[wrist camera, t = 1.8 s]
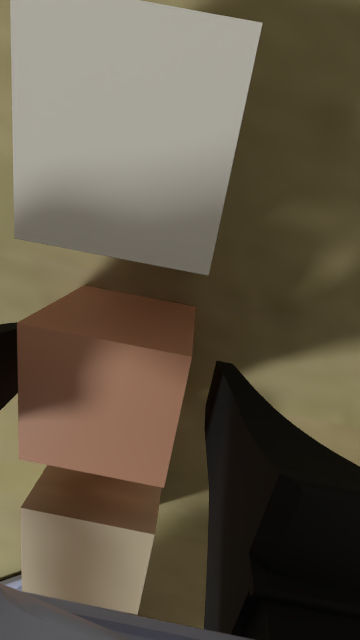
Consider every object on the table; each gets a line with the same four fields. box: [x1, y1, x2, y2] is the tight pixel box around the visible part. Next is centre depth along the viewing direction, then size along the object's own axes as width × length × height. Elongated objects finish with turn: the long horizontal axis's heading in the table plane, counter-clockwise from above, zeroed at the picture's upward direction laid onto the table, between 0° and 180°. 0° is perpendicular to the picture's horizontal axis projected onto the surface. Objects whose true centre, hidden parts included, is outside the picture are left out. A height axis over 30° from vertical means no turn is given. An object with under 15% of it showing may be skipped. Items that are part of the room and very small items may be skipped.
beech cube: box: [21, 465, 162, 615], centre depth 13 cm, size 5×5×5 cm
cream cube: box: [10, 0, 263, 276], centre depth 8 cm, size 5×5×5 cm
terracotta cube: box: [17, 285, 196, 488], centre depth 11 cm, size 5×5×5 cm
